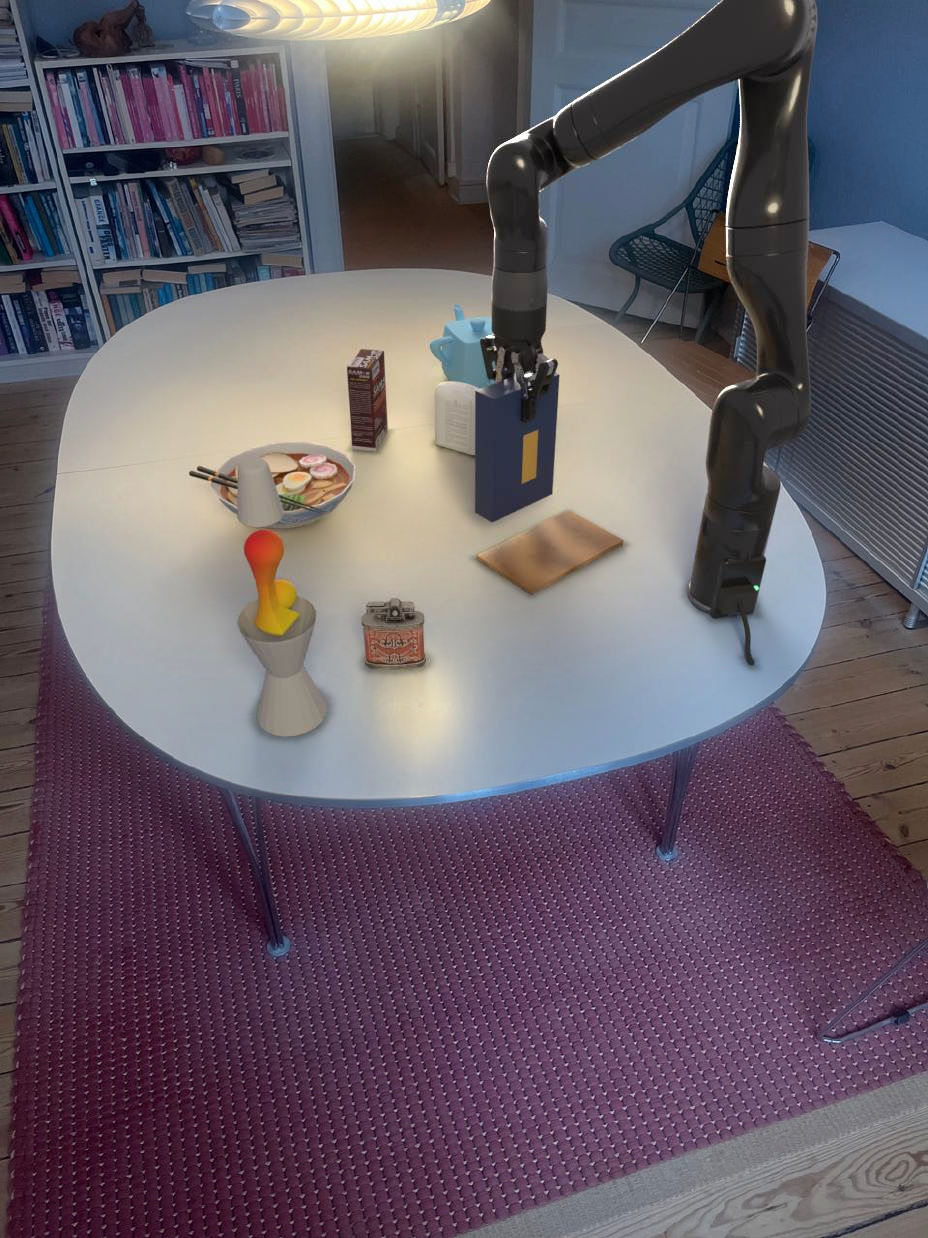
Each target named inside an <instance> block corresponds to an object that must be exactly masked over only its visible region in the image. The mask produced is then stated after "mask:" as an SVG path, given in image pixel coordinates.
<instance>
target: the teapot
mask: <svg viewBox="0 0 928 1238" xmlns="http://www.w3.org/2000/svg"><path fill="white" fill-rule="evenodd" d="M452 308H453V312H454V315H455V321H448V322H445V323H444V327H443V333H442V336H441V337H438V338H435V339H433V340H431V342H430V343H429V349H430V351H431V353H432V355H433V356H434V357H435V358H436V359H437V360H438V361H439V362H440V363H441V369H442V371H443V374H444V375H445V377H446V379H447V381H448V382H449V381H453V382H462V383H466V384H469V385H472V386H475V387H477V388H479V389H481V388H484V387H487V386H489V385H492V384H495V381H494V380H493V379H492V380H489V379H488V378H487V374H486V369H485V364H484V359H483V355H482V350H481V345H480V340H481V339H482V338H485V337H487V336H491V335H494V334H493V332H492V328H491V327H492V317H491V316H481V317H473V318H468V319H467V318H466V316H465V314H464V310H463V308H462V307H461V306H460V305H459V304H453V306H452ZM492 365H493V370H495V369H496V366H495V361H493V362H492ZM514 376H516V374H515V373H514Z"/></svg>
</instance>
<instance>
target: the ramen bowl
mask: <svg viewBox="0 0 928 1238" xmlns="http://www.w3.org/2000/svg"><path fill="white" fill-rule="evenodd" d="M255 457H256V458H261V459H264V460H265V461H266V462H267V463H268V465H269V468H270V471H271V474H272V477H273V480H274V483H275V486H276V489H277V492H278V495H279V498H280V501H281V504H282V507H283V510H284V516H283V517H282V518H281V519H280V520H279V521H278V522H276V523H274V524H272V525H269V526H265V527H267V528H272V529H291V528H292V529H293V528H294V529H295V528H298V527H301V526H302V527H303V526H306V525H309V524H312V523H314V522H316V521H318V520H320V519H322V518H324V517H326V516H328V515H330V514H331V513H332V512H334V510H335V509H336V508H337V507H338V506H339V505H340V504H341V502H342V501H343V500H344V499H345V498H346V496H347V495H348V493H349V492H350V490H351V489H352V486H353V484H354V482H355V479H356V477H355V476H356V466H357V465H356V464H354V462H353V461H352V460H351V459H350V457H349V456H348V455H347V453H344V452H343V451H341V450H338V449H336V448H334V447H332V446H330V445H328V444H321V443H314V442H310V441H309V442H308V441H277V442H272V443H267V444H264V445H258V446H252V447H250V448H248V449H245V450H243V451H241V452H239V453H235V454H234V455H232V456H229V457H228V458H227V459H225V461H224V462H222V463H221V464H220V465H219V466H217V468H216V469H215V470H212V469H209V468H207V467H204V466H202V465H198V466H196V471H195V470H190V471H189V472H188V474H189V476H190V477H193V478H197V479H200V480H203V481H206V482H210V486H211V488H212V489H213V491H214V493H215V495H216V496H217V498H218V500H219V501H220V502H221V503H222V504H223V506H225V507H226V508H227V509H228V510H229V511H230V512H232V513H233V514H234V515H236V516H237V490H238V465H239V464H240V463H241V462H242V461H243V460H245V459H248V458H255Z"/></svg>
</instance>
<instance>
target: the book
mask: <svg viewBox="0 0 928 1238" xmlns="http://www.w3.org/2000/svg"><path fill="white" fill-rule="evenodd" d="M529 373H530V372H527V373H524V376H525V375H527V374H529ZM528 387H529V389H531V385H530V382H528ZM559 391H560V373H557V372H555V375H554V378H553V381H552V384H551V387H550V390H549V393H548V394H547V395H544V396H542V397H540V398H537V408H536V416H535V418H534V419H533V420H531V421H529V422H526V423H524V422H522V421H521V398H522V394H521V388H520V384H519V383H517V380H516V375H515V376H514V377H511V378H508V379H506V380H503V381H500V382H498V383H495V384H492V385H489V386H487V387H484V388H481V389H479V390H476V391H475V455H474V514H476V515H478V516H479V517H481V518H483V519H485V520H486V521H488V522H490V523H494V522H496V521H499V520H501V519H503V518H505V517H507V516H509V515H512V514H513V513H516V512H518V511H520V510H522V509H524V508H526V507H528V506H530V505H533V504H535V503H537V502H539V501H541V500H543V499H546V498H547V497H550V496H552V495H553V493H554V491H553V490H554V477H555V476H554V475H555V474H554V473H555V458H556V457H555V456H556V440H557V427H558V426H557V424H558V406H559V393H560V392H559Z"/></svg>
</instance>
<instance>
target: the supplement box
mask: <svg viewBox="0 0 928 1238" xmlns="http://www.w3.org/2000/svg"><path fill="white" fill-rule="evenodd" d="M346 374H347V375H346V376H347V391H348V404H349V419H350V420H349V421H350V435H351V437H350V438H351V449H352V450H353V451H361V452H370V453H371V452H373V453H376V452H377V450H378V449H379V447H380V445H381V443H382V442H383V440H384V438H385V436H386V435H387V434H388V432H389V429H388V428H389V426H388V425H389V423H388V408H387V406H388V405H387V387H386V386H387V385H386V363H385V351H384V350H377V349H366V348H360V349H359V351H358V353H357V354H356V356H355V357H354V358H353V360H351V362H350V363H349V365H347V366H346Z"/></svg>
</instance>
